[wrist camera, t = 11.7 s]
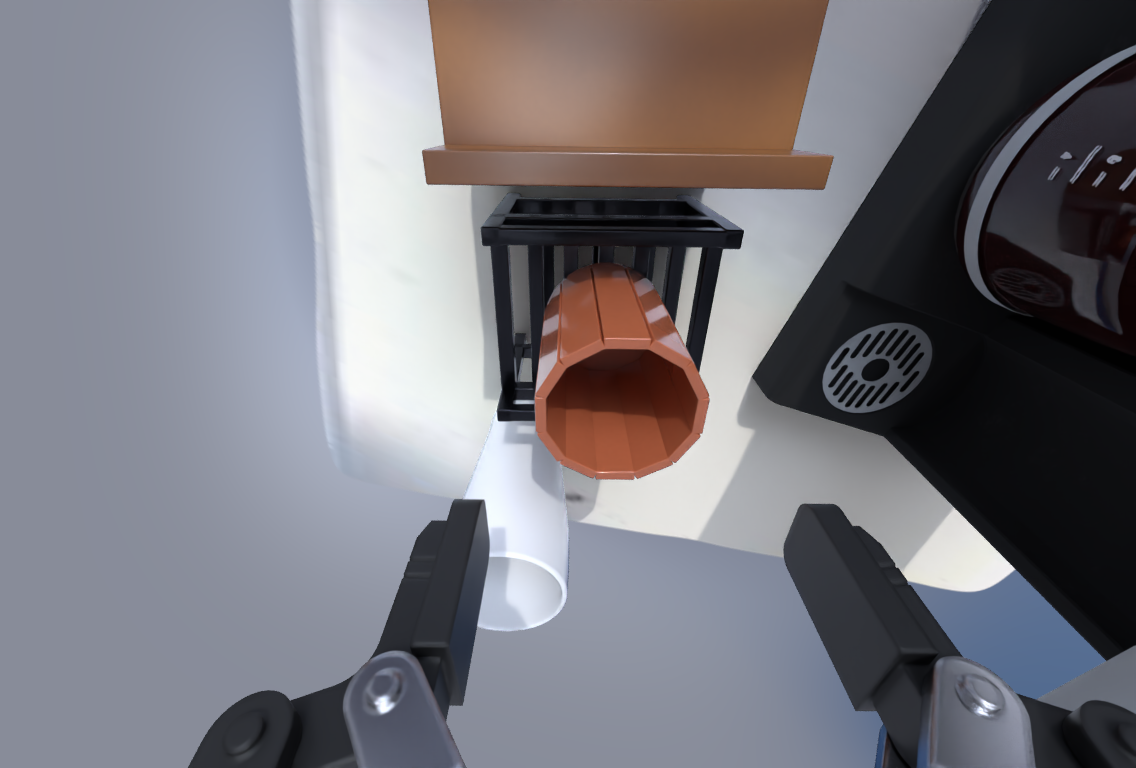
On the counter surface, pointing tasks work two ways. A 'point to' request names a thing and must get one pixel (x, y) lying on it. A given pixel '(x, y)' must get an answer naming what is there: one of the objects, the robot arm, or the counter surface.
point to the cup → (615, 377)
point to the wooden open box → (624, 93)
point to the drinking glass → (521, 527)
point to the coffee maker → (1004, 312)
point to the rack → (602, 230)
